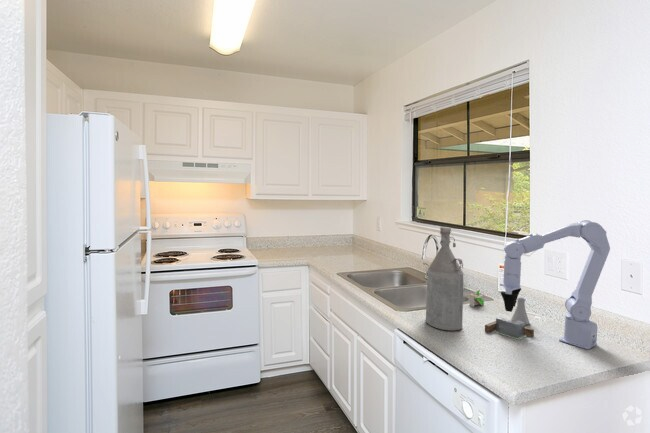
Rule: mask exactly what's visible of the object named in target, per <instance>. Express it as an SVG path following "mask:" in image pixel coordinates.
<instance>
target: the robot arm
mask: <svg viewBox="0 0 650 433" xmlns="http://www.w3.org/2000/svg"><path fill="white" fill-rule="evenodd" d="M568 237H572V238H573V237H574V238H578V239H579V238H582V239H583V240H584V241H585V242H586V243H587V245H588V246H589V247H590V251H589V254H588V256H587V259H586V261H585V265H584V266H583V270H582V272H581V275H580V278H579V280H578V282H577V285H576V288H575V289H574V290H573V291H572V293H571V295H570V296H569V297H568V298H566V300H565V302H564V306H565V309H566V310H567V312H566V313H565V315H564V329H563V330H564V332H563V337H561V338H559V341H560V342H563V343H564V344H569V345H571V346H575V347H579V348H582V349H586V350H590V349H592V348H594V347H595V346H597V345H598V343H597V340H598V339H597V338H598V324H597V322H595V321H591V320H590V317H591V316H592V309H591V308H592V307H591V306H592V304H593V301H592V300H593V298H592V297H593V294H594V291H595V289H596V286H597V284H598V281H599V278H600V277H601V273H602V271H603V269H604V266H605V264H606V261H607V259H608V255H609V253H610V250H611V247H610V243H609V240H608V236H607V231H606V230H605V229H604V227H603V226H602V225H601V224H600V223H598V222H594V221H591V220H587V219H586V220H585V219H583V220H581V221H580V222H578V221H576V222H574V223H573V222H572V223H569V224H567V225H564V226H562V227H560V228H556V229H555V230H551V231H550V232H545V233H544V234H542V235H541V234H538V233H532V232H531V233H528V236H525V237H522V238H515V241H509V242H507V243H506V244H505V245H504V247H503V251H504V253H505V255H504V261H503V262H504V263H503V279H502V280H503V282H500V283H499V286H501V287H503V288H504V290H505V291H503V290H501V291H500V295H501V297H502V299H503V300H502V301H503V303H504V310H505V312H509V313H510V312H511V313H512V312H513V310H514V308H516V307H515V306H517V305H516V303H517V302H518V300H517V298H519V293H520V292H521V291H522V287H521V270H522V262H521V258H522V256H523V254H524V255H526V254H529V253H531V252H535V251H538V250H542V249H543V248H544V247H545V245H546V244H547V243H551V242H554V241H557V240H558V241H559V240H561V239H564V238H568Z"/></svg>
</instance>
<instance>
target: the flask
mask: <svg viewBox="0 0 650 433" xmlns="http://www.w3.org/2000/svg"><path fill="white" fill-rule="evenodd" d="M525 302H526V298H525V297H524V298H523V297H517V302H516V303H517V305H516V307H515V309H514V312H513V314H512V315H511V318H510V320H511V321H514V322H516V321H521V322H525V326H527V325H530V320H529V317H528V313H527V310H526V304H525Z"/></svg>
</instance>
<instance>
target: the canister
mask: <svg viewBox="0 0 650 433" xmlns="http://www.w3.org/2000/svg"><path fill="white" fill-rule="evenodd" d="M439 229H440V230H439V235H440V236H441V237H440V240H439V244H440V245H441V246H440V248H439V250H438V252H437V253H436V255H435V257H434V259H432V262H431V264H430V265H429V267H427V278H426V279H427V281H426V282H427V283H426V300H425V301H426V303H425V304H426V305H425V322H426V324H428V325H429V326H431V327H433V328H435V329H439V330H442V331H458V330H461V329H463V320H464V319H463V315H464V314H463V313H464V312H463V309H464V307H463V306H464V304H463V303H464V271H463V270H462V269H463V268H464V263H463V259H461V258H456V257H455V255H454V253H453V252H452V250H451V248H450V244H451V243H452V248H456V242H455V241H456V239H455V237H453V236H450V234H451V232H452V227H448V226H441V227H440V228H439ZM452 233H453V232H452ZM450 238H451V239H453V242H452V241H451V239H450Z"/></svg>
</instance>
